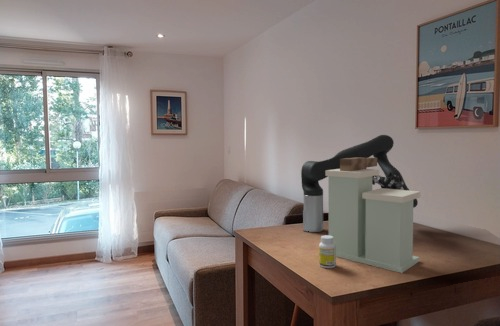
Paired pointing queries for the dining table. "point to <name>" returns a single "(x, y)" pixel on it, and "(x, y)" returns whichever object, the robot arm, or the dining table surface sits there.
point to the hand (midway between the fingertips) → (378, 173)
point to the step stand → (371, 220)
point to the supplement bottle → (327, 252)
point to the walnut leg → (357, 163)
